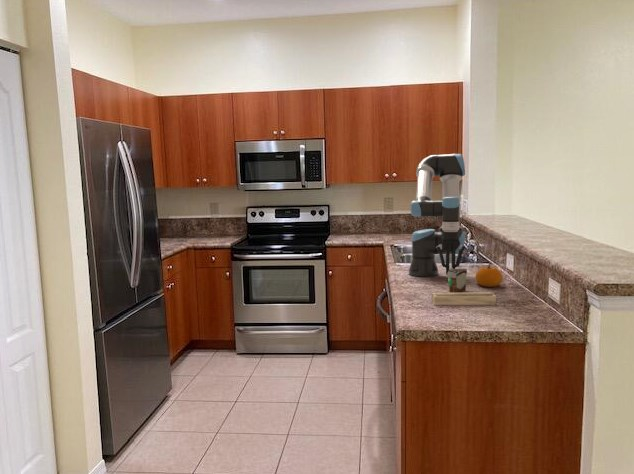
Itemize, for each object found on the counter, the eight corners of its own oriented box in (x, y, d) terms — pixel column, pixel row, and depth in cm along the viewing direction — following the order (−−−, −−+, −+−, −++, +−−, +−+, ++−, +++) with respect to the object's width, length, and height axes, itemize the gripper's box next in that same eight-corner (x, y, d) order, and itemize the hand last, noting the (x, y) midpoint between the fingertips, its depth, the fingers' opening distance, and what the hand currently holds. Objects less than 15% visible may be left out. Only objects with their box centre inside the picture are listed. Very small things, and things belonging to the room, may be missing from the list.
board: (431, 301, 198) (431, 291, 197) (491, 300, 196) (491, 291, 195) (434, 304, 192) (434, 295, 191) (495, 304, 190) (495, 294, 189)
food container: (453, 289, 217) (454, 267, 216) (467, 290, 213) (467, 268, 212) (442, 294, 208) (442, 272, 207) (455, 296, 204) (455, 273, 203)
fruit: (504, 284, 224) (505, 263, 222) (498, 289, 214) (499, 267, 213) (479, 281, 230) (479, 261, 229) (472, 286, 220) (472, 265, 219)
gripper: (437, 232, 214) (437, 283, 217) (467, 231, 213) (466, 283, 216) (434, 230, 222) (434, 280, 224) (463, 229, 220) (463, 280, 223)
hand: (450, 281), depth 220 cm, fingers closed
